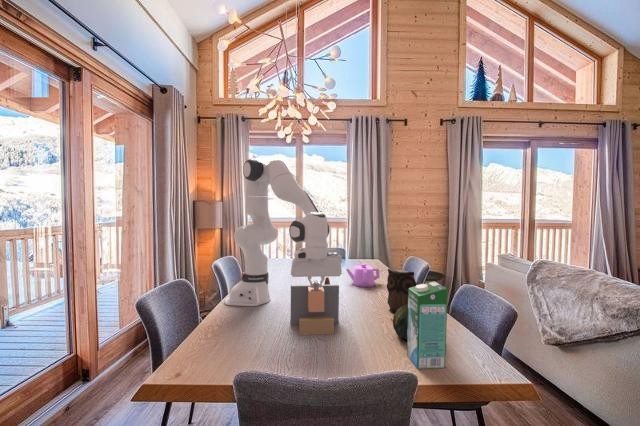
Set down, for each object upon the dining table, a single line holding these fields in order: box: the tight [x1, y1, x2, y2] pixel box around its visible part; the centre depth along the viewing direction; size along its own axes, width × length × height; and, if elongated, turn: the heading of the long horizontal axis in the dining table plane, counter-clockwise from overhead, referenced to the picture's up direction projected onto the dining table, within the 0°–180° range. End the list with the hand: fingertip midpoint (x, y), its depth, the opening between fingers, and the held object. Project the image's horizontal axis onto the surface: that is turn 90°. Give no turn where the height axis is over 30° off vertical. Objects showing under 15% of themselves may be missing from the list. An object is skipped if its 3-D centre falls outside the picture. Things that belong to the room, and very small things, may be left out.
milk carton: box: [406, 280, 449, 370], centre depth 102 cm, size 9×9×25 cm
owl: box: [386, 268, 418, 315], centre depth 147 cm, size 13×13×20 cm
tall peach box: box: [308, 279, 324, 312], centre depth 127 cm, size 6×7×11 cm
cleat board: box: [289, 284, 340, 336], centre depth 130 cm, size 20×16×16 cm
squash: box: [392, 305, 408, 340], centre depth 119 cm, size 14×15×15 cm
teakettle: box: [345, 263, 381, 288], centre depth 198 cm, size 17×17×12 cm
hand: (315, 287), depth 127 cm, fingers closed on tall peach box
